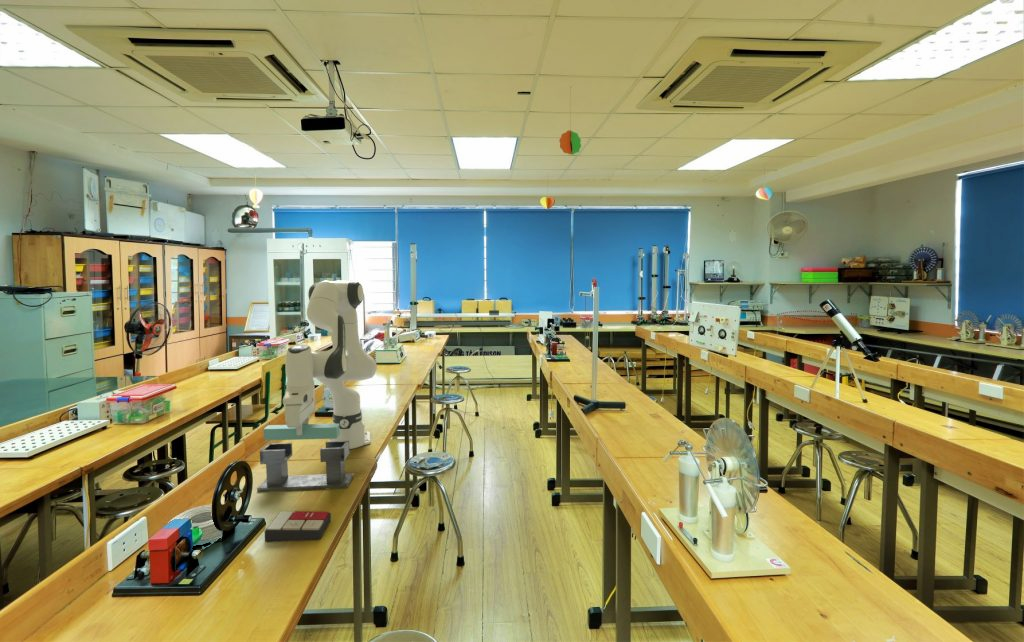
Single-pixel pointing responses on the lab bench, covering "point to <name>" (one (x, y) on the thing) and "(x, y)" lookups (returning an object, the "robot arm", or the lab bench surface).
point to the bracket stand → (280, 481)
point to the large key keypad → (297, 526)
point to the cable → (201, 521)
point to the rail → (308, 432)
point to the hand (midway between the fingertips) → (302, 431)
